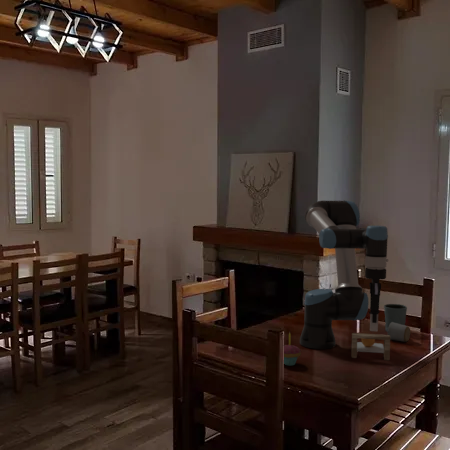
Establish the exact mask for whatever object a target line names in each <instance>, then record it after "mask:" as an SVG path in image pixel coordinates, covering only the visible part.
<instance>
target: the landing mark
mask: <svg viewBox="0 0 450 450" xmlns="http://www.w3.org/2000/svg"><path fill="white" fill-rule="evenodd" d="M357 352H358V353H359V352H362V353H375V354H376V353H378V354H384V343H377V342H375V343H374V345H373V346H371V347H366V346H364V345H363V343H362V341H357Z"/></svg>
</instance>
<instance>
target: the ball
mask: <svg viewBox="0 0 450 450" xmlns="http://www.w3.org/2000/svg"><path fill="white" fill-rule="evenodd" d="M361 342H362V343H363V345H364V346H366V347H371V346H373V345H374V343H376V339H362V338H361Z"/></svg>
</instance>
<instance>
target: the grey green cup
mask: <svg viewBox="0 0 450 450" xmlns="http://www.w3.org/2000/svg"><path fill="white" fill-rule="evenodd" d="M407 309H408V307H407V306H406V305H404V304H397V303H388V304H384V306H383V310H384V316H385V317H384V321H385V332H387V333H388V327H389V325H390V323H391V322H394V323H398V324H401V325H405V324H406V320H407V319H406V318H407Z"/></svg>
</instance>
